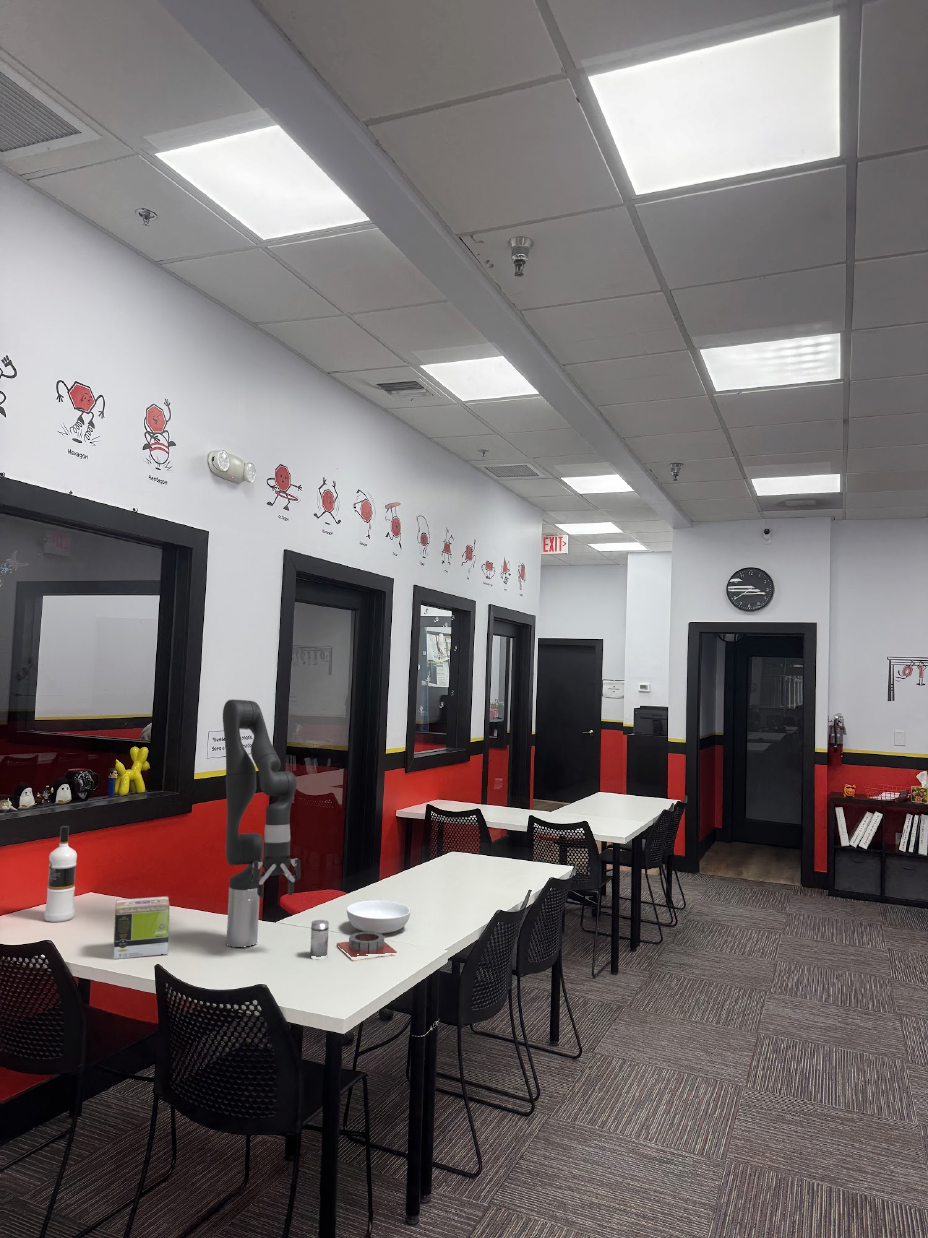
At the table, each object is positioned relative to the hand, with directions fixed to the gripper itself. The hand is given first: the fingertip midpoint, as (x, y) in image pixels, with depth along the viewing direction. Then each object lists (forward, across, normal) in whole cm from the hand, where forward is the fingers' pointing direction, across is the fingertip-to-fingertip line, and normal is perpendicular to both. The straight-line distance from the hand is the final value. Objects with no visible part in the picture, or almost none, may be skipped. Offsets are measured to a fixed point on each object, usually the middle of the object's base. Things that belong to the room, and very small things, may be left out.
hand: (275, 896), depth 252 cm
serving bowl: (+17, -38, -15) cm, 45 cm away
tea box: (+16, +34, -20) cm, 43 cm away
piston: (+18, -13, +3) cm, 22 cm away
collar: (+18, -28, +3) cm, 33 cm away
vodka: (+13, +55, -62) cm, 84 cm away
